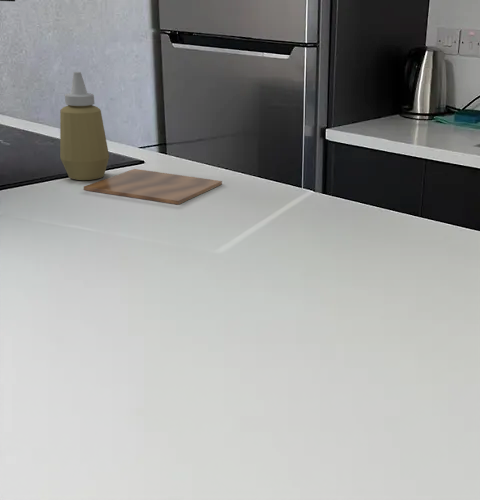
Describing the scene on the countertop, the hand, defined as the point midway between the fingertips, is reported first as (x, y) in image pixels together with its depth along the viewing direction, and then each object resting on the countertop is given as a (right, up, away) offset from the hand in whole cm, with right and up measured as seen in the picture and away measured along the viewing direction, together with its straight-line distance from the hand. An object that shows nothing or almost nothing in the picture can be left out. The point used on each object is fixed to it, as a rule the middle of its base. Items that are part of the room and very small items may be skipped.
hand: (11, 0), depth 110 cm
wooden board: (+21, -30, +6) cm, 37 cm away
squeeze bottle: (+8, -28, +10) cm, 31 cm away
